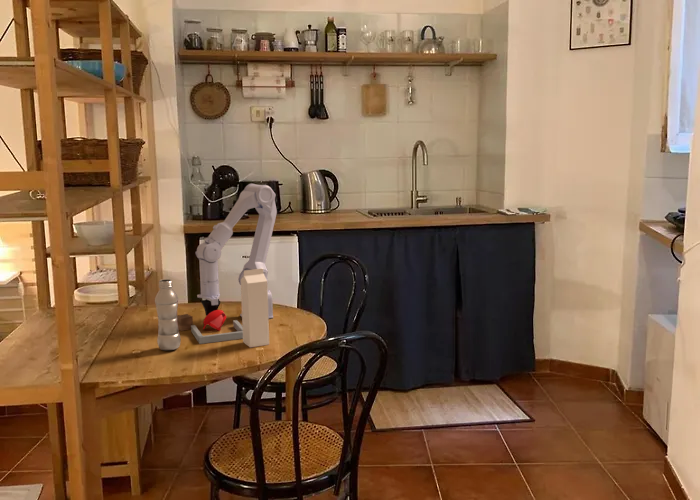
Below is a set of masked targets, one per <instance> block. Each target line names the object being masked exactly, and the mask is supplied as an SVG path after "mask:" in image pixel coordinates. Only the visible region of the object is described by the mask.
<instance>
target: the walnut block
mask: <svg viewBox="0 0 700 500" xmlns="http://www.w3.org/2000/svg"><path fill="white" fill-rule="evenodd" d="M177 323H178V330H179V332H180V331H181V332H182V331H187V330H191V325H194V321H193V316H192V315H190V314H188V313H185V314H179V315H178V314H177Z"/></svg>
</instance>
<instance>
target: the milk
mask: <svg viewBox="0 0 700 500" xmlns="http://www.w3.org/2000/svg"><path fill="white" fill-rule="evenodd" d="M268 290H269V289H268V285H267V279H266V278H265V276H264V274H263V269H253V270H244V276H243V277H242V279H241V285H240V295H241V296H240V297H241V299H240V300H241V314H242V317H241V319H242V320H241V321H242V322H241V325H242V327H243V339H242V342H243V343H244V344H245V345H246V346H248V347H249V348H255V347H261V346H269V345H270V329H269V328H270V327H269V326H270V325H269V322H270V321H269V319H270V318H268Z"/></svg>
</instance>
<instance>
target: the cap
mask: <svg viewBox="0 0 700 500" xmlns="http://www.w3.org/2000/svg"><path fill="white" fill-rule="evenodd" d="M226 319H227V314H226V313H225V311H224V310H223V309H218V310H215V311H212V312H211V313H209V314H208V315H207V316H206V315H205V317H204V319H203V322H202V324H203V328H202V330H205V328H206V327H207V326H210V327H211V328H213V329H214V330H216V331H221V328H222V326H223V325H224V324H225V322H226Z"/></svg>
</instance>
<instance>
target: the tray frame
mask: <svg viewBox="0 0 700 500" xmlns="http://www.w3.org/2000/svg"><path fill="white" fill-rule="evenodd" d="M232 325H233V326H232V327H233V328H234V329H235V330H236V331H231V332H230V331H229V332H222V333H215V334H206V335H203V334H202V333H201V331H200V330H199V329H198V327H197V325H195V324H193V325H191V329H190V332H191V333H192V334H193V337H194V338H195V340H196V341H197V342H198V344H199V345H203V344H211V343H218V342H227V341H233V340H234V341H235V340H243V327H242V323H241V322H239V321H238V320H237V319H235V320H232Z"/></svg>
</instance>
